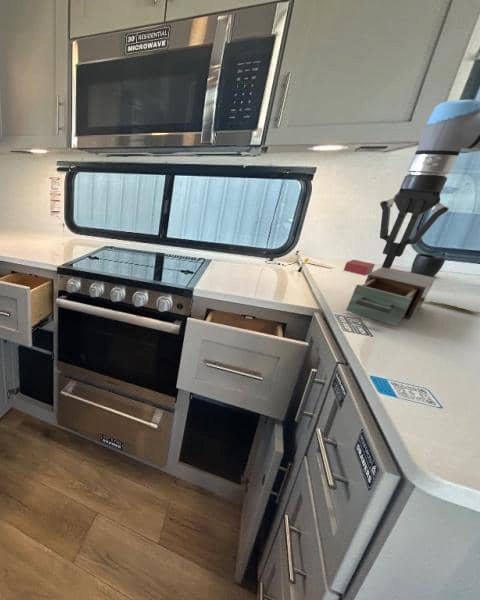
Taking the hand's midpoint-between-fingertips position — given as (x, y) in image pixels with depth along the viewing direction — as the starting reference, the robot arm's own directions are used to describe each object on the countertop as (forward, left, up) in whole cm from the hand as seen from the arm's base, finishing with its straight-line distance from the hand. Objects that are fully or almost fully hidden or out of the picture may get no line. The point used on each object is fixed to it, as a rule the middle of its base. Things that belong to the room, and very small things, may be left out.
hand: (386, 266), depth 89 cm
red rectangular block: (+14, -46, -14) cm, 50 cm away
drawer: (-2, +1, -13) cm, 13 cm away
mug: (-2, -68, -14) cm, 69 cm away
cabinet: (-2, -16, -14) cm, 21 cm away
